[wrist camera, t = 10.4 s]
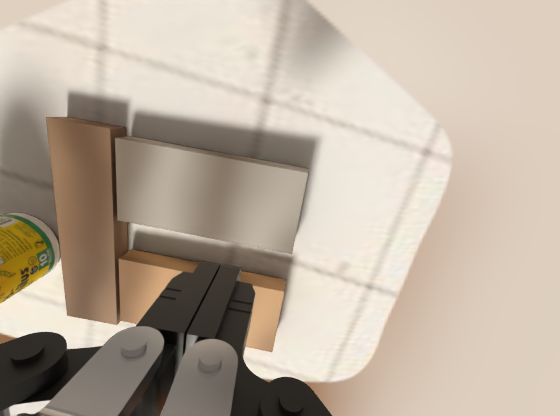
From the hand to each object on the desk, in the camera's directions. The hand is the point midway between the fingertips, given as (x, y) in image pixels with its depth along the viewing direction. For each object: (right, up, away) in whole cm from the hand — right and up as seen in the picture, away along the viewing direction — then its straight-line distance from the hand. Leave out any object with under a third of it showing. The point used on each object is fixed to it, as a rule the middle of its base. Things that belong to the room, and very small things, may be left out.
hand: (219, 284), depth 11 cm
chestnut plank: (-4, -4, +11) cm, 13 cm away
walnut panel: (-11, +2, +10) cm, 15 cm away
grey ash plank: (-2, +4, +9) cm, 10 cm away
